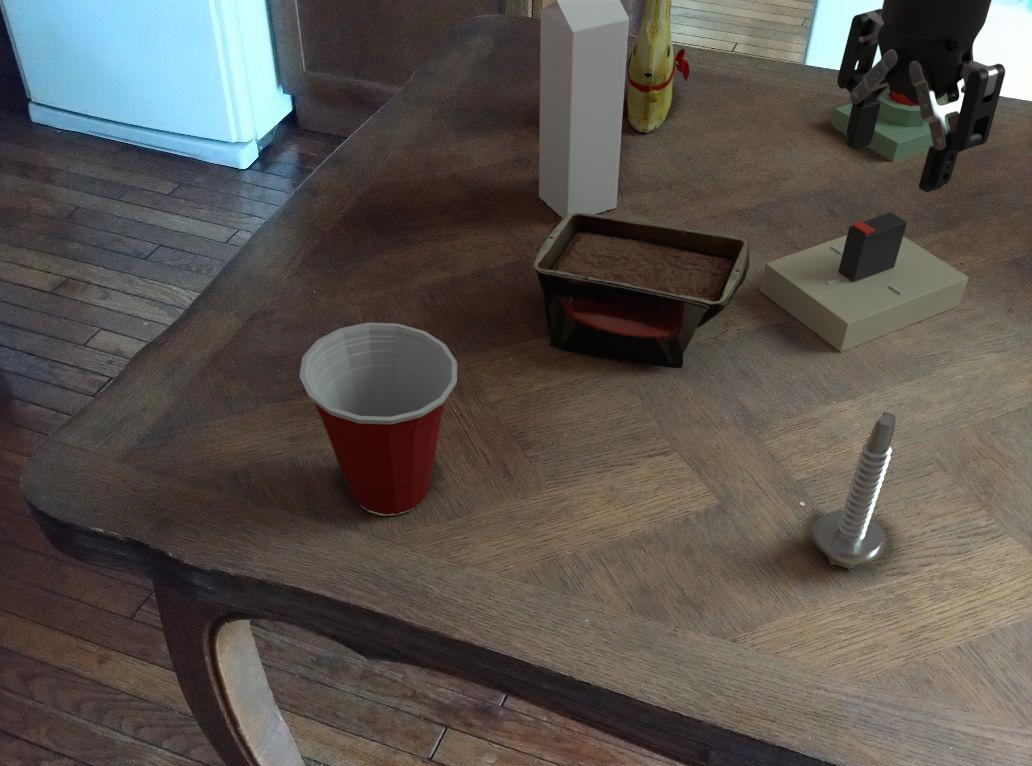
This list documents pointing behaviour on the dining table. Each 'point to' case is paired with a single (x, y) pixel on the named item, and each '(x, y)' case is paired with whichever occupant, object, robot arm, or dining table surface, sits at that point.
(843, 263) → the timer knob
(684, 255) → the baking dish
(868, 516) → the screw
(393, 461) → the plastic cup
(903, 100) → the power button
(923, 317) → the panel
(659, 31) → the chocolate bunny
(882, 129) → the button block
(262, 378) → the dining table surface
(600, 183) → the milk
